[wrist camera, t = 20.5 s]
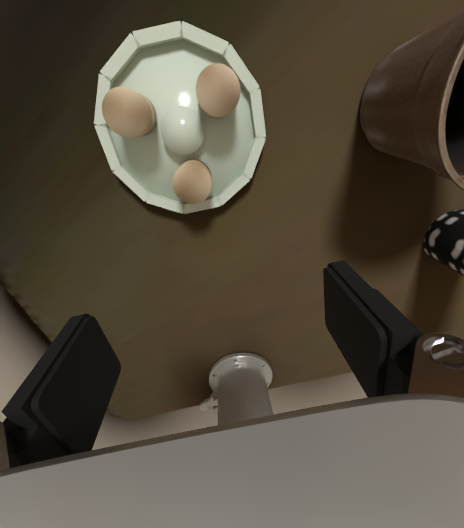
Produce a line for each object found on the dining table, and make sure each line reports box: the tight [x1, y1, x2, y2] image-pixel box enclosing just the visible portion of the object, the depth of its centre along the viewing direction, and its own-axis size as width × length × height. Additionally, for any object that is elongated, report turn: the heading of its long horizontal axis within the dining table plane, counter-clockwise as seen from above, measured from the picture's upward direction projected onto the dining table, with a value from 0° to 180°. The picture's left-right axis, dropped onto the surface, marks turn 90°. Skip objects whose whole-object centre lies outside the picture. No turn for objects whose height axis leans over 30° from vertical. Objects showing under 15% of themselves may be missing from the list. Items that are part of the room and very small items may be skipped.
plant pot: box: [360, 9, 464, 190], centre depth 26 cm, size 16×16×16 cm
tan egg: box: [102, 87, 157, 137], centre depth 28 cm, size 4×4×5 cm
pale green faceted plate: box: [94, 21, 266, 214], centre depth 31 cm, size 19×19×2 cm
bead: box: [196, 63, 240, 118], centre depth 28 cm, size 4×4×5 cm
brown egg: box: [172, 159, 212, 204], centre depth 32 cm, size 4×4×5 cm
